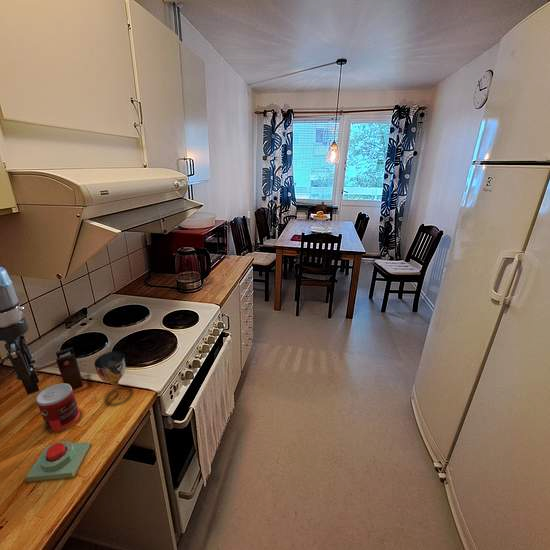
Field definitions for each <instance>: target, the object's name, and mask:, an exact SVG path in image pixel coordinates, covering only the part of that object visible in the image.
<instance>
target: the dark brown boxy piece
mask: <svg viewBox="0 0 550 550" xmlns="http://www.w3.org/2000/svg"><path fill="white" fill-rule="evenodd" d="M67 352H70V353H71V354H70V355H67V356H63V357H60V358H59V355H62V354H65V353H67ZM55 355H56V358H55V360H56V361H57V364H56V365H57V367H58V370H59V374H60V376H61V379H62V383H66V384H69V385H70V386H71V387H72V390H73V391H74V390H76V389H79V388H82V387H83V386H84V383H83V381H82V380H83V378H82V374H81V371H80V366H79V364H78V361H77V358H76V354H75V351H74V348H73V347H68V348H65V349H61V350H58V351H55Z"/></svg>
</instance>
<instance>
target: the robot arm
mask: <svg viewBox="0 0 550 550" xmlns="http://www.w3.org/2000/svg"><path fill="white" fill-rule="evenodd" d="M24 310H25V307H24V306H21V304H20V301H19V298H18V296H17V293H16V291H15V288H14V285H13V281H12V280H11V278H10V275H9V274H8V271H7V270H6V269H5V268H4V267H2V266H0V342H5V343H4V348H5V350H6V351H7V353H6V354H7V355H6V356H7V358H8V360H9V361H10V364H11V365H12V368H13V370H14V372H15V374H16V376H17V377H16V380H17V381H21V383H22V385H23V387H24V390H25V392H26V394H27V396H29V395H32V394H35V393H37V392H39V391H40V388H39V385H38V384H39V383H40V379H39V376H38V374H37V372H34V375H33V373H32V372H31V371H30V368H29V367H32V368H35V366H34V364H36V360H35V359H33V357H32V354H31V352H30V348H29V346H28V343H27V341H26V337H25V335H24V334H26V333H27V332H28V331H29V325H28V322H27V320H26V318H25V317H24V312H23V311H24Z"/></svg>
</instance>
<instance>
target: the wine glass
mask: <svg viewBox="0 0 550 550" xmlns="http://www.w3.org/2000/svg"><path fill="white" fill-rule="evenodd" d="M93 363H94V364H93V365H94V368H95V372H96V374H97V376H98V377H99V379H100V380H101V381H102V382H105V383H107V384H111V385H112V386H113V387H114V389H115V390H114V391H115V393H116V396H120V395H121V393H120V389H119V382H120V381H121V380H122V378H123V376H124V375H125V373H126V369H127V364H126V363H127V361H126V357H125V354H124V353H123V352H122V351H117V350H115V351H109V352H106V353H103V354H102V355H99V356H98V357H97V358H96V359H95V360H94V362H93Z"/></svg>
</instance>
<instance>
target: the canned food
mask: <svg viewBox="0 0 550 550" xmlns="http://www.w3.org/2000/svg"><path fill="white" fill-rule="evenodd" d="M36 404H37V407H38V409H39V411H40V414H41V417H42V419H43V421H44V424H45V427H46V429H47V430H48V431H61V430H64V429H66V428H68V427H69V426H71V425H73V424H74V423H75V422H76V421H77V420H78V419H79V417H80V414H81V413H80V409H79V406H78V403H77V399H76V397H75V393H74V390H72V387H71V386H70V385H69V384H66V383H64V382H62V383H56V384H53V385H50V386H48V387H46V388H44V389H43V390H41V391H40V392H39V393H38V394H37V395H36Z"/></svg>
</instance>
